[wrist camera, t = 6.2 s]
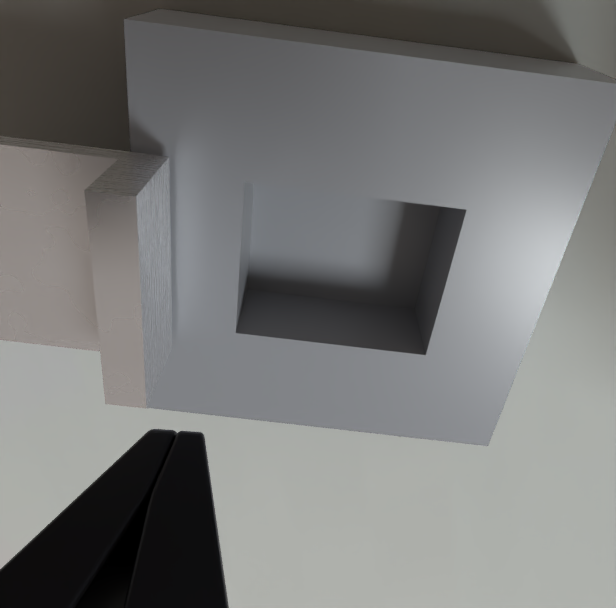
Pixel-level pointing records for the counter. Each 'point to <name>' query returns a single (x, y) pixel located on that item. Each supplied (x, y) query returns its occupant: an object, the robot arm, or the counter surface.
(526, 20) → the counter surface
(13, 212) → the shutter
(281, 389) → the socket
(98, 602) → the robot arm
